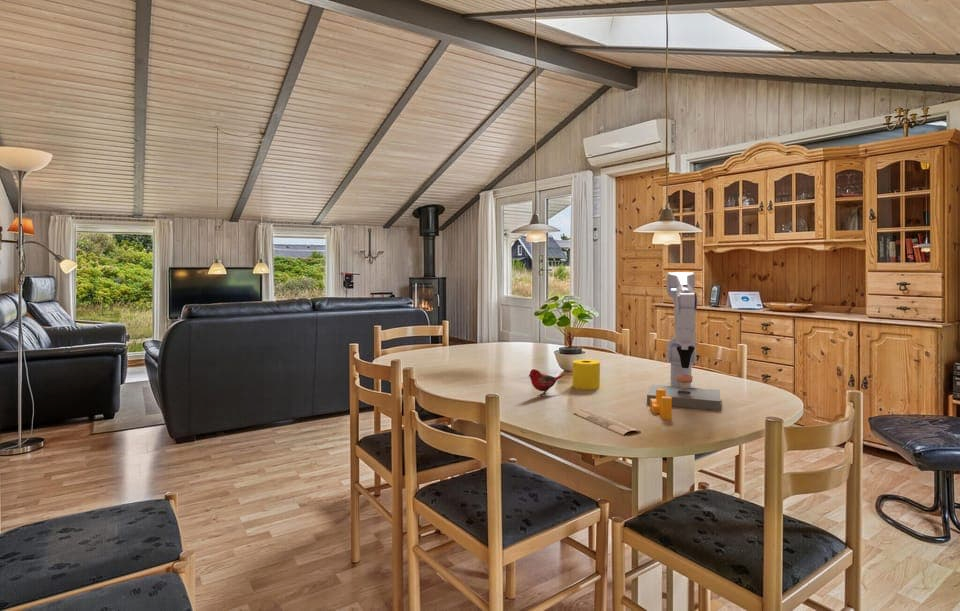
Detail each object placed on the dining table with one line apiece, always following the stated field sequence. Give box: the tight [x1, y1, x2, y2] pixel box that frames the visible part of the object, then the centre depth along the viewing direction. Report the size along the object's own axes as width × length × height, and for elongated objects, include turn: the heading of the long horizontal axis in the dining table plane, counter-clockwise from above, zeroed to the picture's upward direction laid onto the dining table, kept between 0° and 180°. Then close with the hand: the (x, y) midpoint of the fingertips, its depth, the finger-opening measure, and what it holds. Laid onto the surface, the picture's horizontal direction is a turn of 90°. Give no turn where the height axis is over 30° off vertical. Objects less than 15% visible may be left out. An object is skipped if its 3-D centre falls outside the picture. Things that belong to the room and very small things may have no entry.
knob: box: [676, 374, 693, 390], centre depth 178 cm, size 5×5×5 cm
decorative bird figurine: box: [528, 368, 565, 397], centre depth 189 cm, size 3×18×10 cm, turn 127°
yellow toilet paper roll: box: [572, 358, 601, 390], centre depth 201 cm, size 10×10×9 cm
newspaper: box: [573, 408, 642, 437], centre depth 155 cm, size 24×7×2 cm, turn 25°
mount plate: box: [646, 384, 721, 411], centre depth 178 cm, size 16×22×3 cm
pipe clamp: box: [649, 389, 673, 420], centre depth 164 cm, size 12×4×6 cm, turn 170°
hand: (685, 367), depth 182 cm, fingers closed
